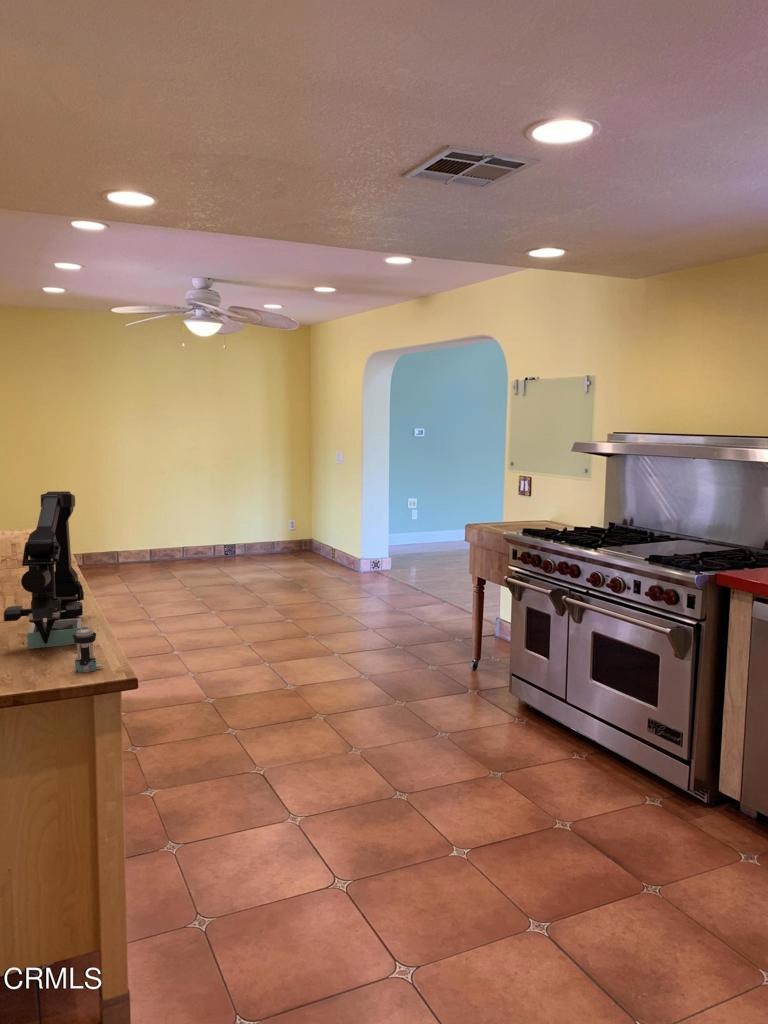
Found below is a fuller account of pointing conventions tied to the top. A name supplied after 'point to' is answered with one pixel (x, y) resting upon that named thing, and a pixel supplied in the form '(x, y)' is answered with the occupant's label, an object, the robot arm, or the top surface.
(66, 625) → the block
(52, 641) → the bar
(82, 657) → the push button
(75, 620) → the frame
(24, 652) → the top surface
